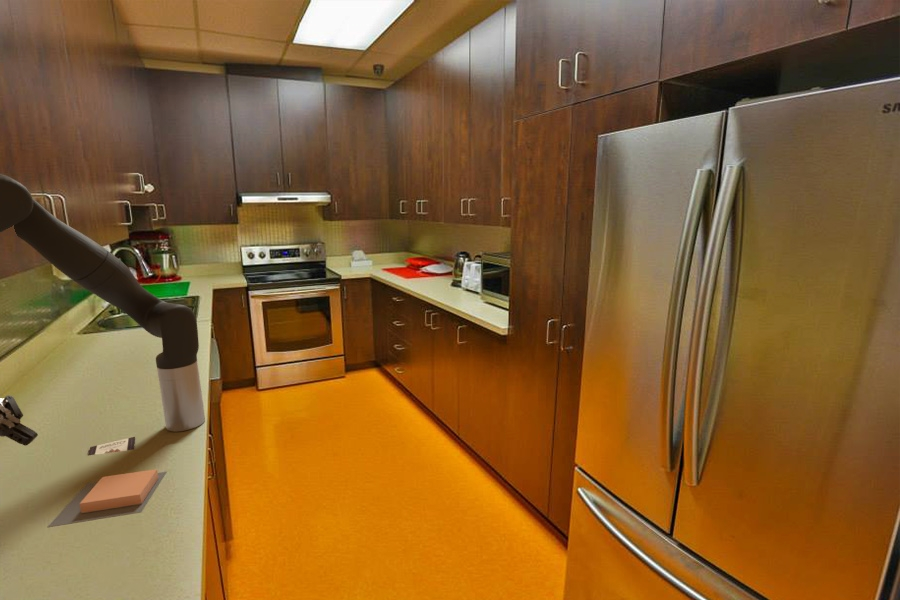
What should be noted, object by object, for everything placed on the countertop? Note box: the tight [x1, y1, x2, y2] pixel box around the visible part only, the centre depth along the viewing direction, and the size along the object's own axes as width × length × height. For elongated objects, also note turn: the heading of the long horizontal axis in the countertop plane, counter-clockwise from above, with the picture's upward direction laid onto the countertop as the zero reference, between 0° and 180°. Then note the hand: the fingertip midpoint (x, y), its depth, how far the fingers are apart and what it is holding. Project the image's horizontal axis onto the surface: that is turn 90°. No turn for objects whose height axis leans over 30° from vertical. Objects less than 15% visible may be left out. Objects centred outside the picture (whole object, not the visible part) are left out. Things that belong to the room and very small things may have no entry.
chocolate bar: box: [87, 436, 136, 456], centre depth 105 cm, size 9×1×18 cm
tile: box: [80, 468, 159, 513], centre depth 90 cm, size 9×2×10 cm
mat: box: [47, 471, 168, 528], centre depth 90 cm, size 14×15×1 cm
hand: (32, 440), depth 86 cm, fingers closed
